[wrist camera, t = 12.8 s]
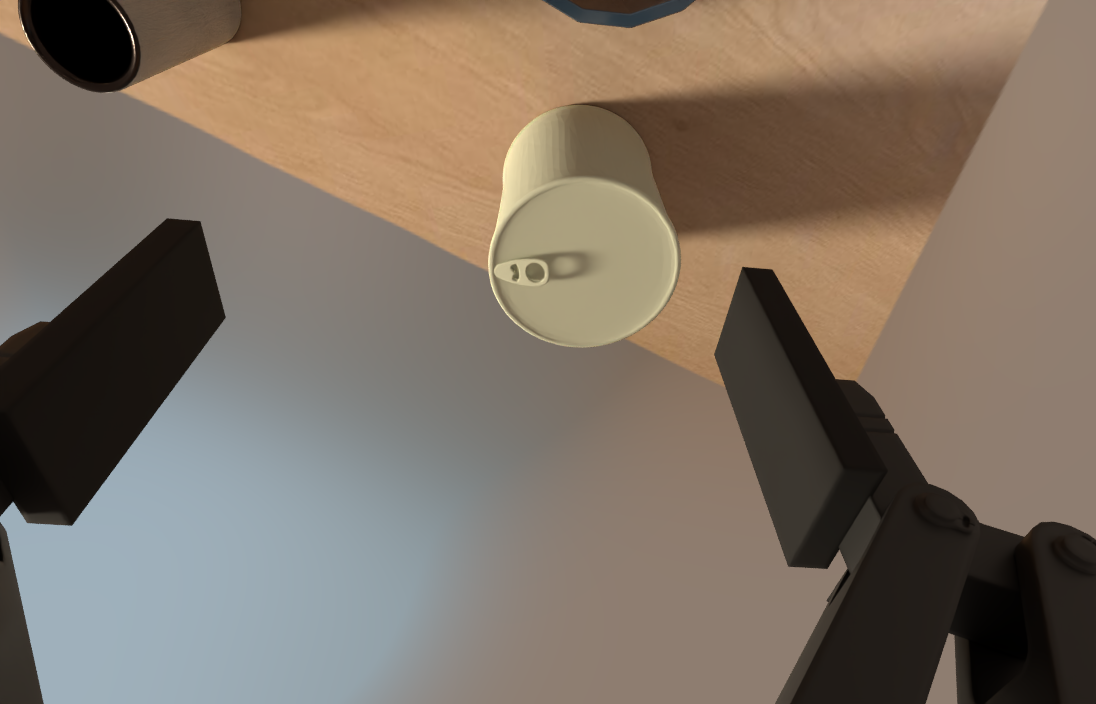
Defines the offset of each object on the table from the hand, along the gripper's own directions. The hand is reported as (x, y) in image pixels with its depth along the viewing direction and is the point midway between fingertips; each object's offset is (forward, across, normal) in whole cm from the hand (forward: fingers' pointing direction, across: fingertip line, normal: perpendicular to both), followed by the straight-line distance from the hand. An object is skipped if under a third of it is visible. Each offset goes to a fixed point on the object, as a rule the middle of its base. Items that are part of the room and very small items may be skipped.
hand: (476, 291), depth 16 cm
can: (+24, +4, -6) cm, 25 cm away
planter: (+24, -17, +2) cm, 30 cm away
